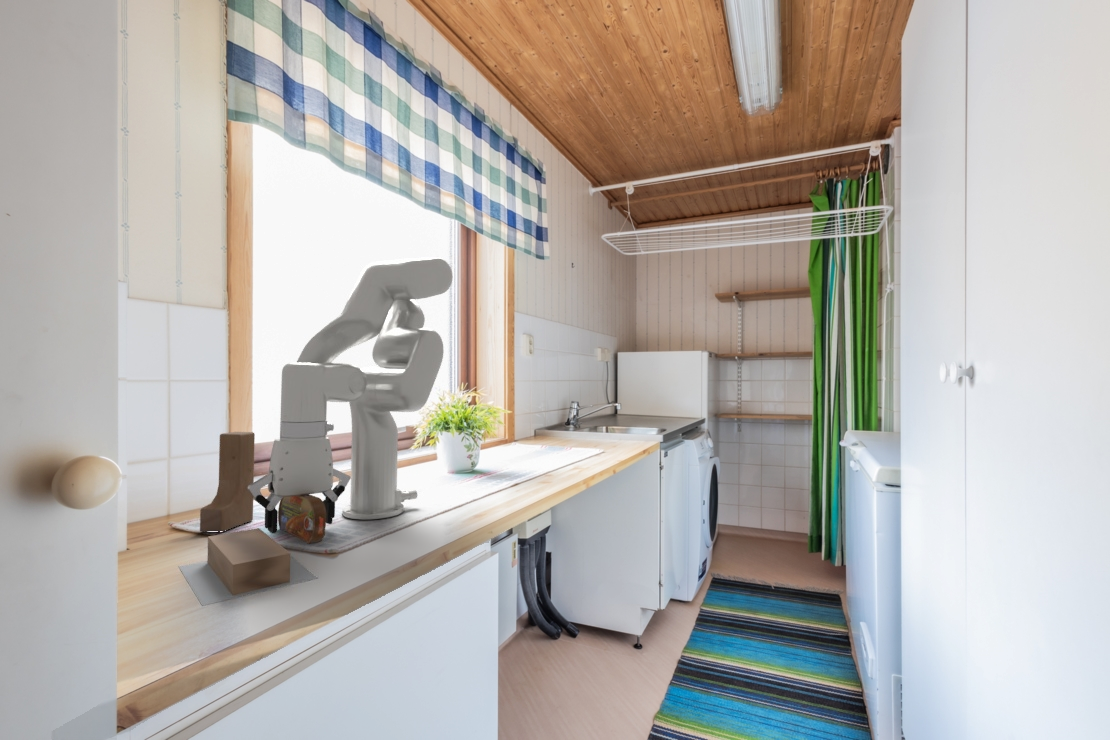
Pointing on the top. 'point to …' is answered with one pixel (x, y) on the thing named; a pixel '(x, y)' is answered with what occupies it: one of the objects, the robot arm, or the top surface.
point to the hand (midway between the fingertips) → (300, 526)
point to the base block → (248, 560)
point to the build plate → (215, 591)
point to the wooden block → (232, 484)
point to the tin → (303, 517)
